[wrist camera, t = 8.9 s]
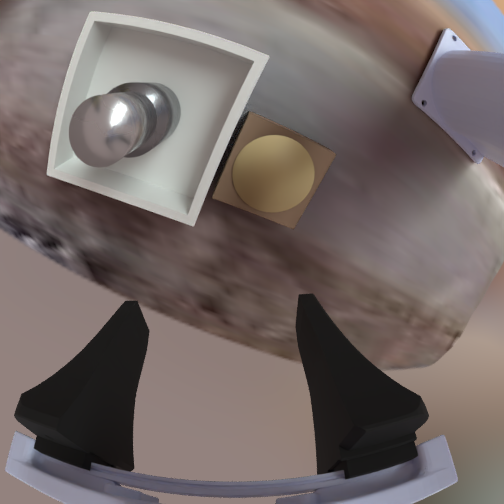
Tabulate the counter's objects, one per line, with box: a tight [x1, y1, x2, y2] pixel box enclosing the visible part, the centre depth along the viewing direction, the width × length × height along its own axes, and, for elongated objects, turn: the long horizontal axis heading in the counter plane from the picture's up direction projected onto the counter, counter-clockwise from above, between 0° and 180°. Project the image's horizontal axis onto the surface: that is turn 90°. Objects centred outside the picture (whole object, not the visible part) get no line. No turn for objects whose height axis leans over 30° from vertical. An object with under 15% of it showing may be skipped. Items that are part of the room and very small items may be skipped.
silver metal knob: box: [69, 82, 181, 168], centre depth 13 cm, size 4×4×7 cm
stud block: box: [212, 111, 336, 229], centre depth 18 cm, size 6×6×2 cm
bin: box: [47, 11, 270, 227], centre depth 15 cm, size 11×11×3 cm
